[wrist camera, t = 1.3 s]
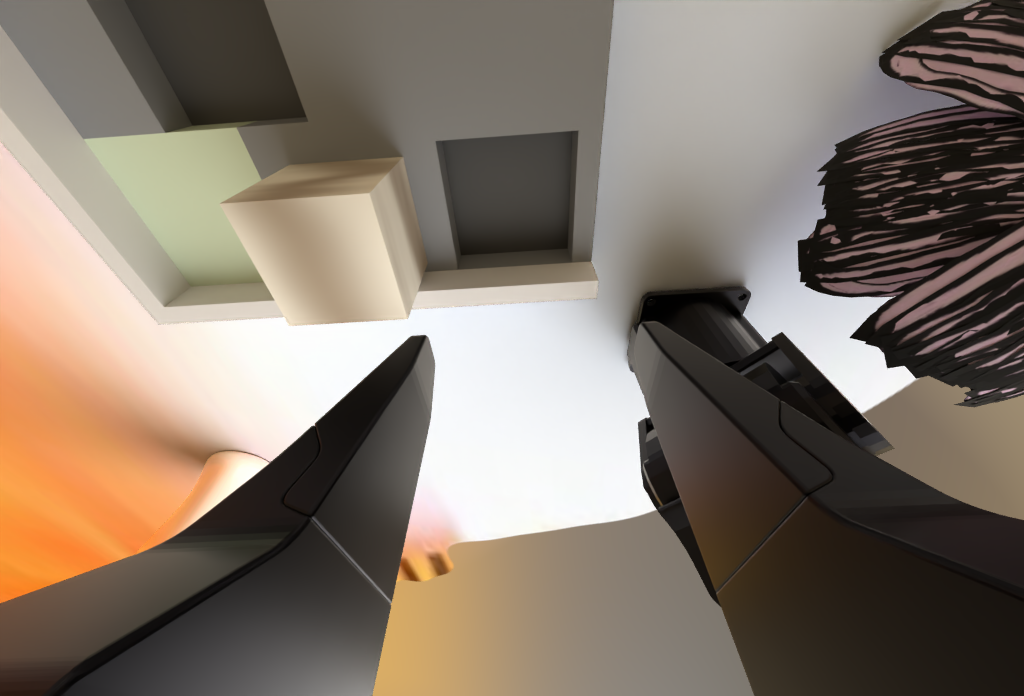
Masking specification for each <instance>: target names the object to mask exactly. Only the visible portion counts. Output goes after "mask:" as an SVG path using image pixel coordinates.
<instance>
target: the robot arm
mask: <svg viewBox="0 0 1024 696" xmlns="http://www.w3.org/2000/svg"><path fill="white" fill-rule="evenodd" d="M741 294H743V295H742V296H740V297H739V295H741ZM750 297H751V292H750V291H749V290H748V289H747V288H745V287H728V288H711V289H695V290H678V291H661V292H649V293H647V294H645V295H644V296H643V297H642V299H641V304H640V309H639V314H638V319H637V323H635V324H634V325H633V326H632V331H631V336H630V341H629V347H628V352H627V355H628V357H629V364H628V365H629V368H630V370H631V372H634V373H635V375H636V378H637V380H638V383H639V385H640V388H641V390H642V393H643V395H644V398H645V402H646V406H647V409H648V412H649V415H650V417H649V418H644V419H643V420H641V421H640V422H638V430H639V444H640V459H641V473H642V479H643V486H644V489H645V490H646V492H647V493H648V495H649V497H650V499H651V501H652V502H653V504H654V506H655V507H656V509H657V510H658V512H659V513H660V515H661V516H662V517H663V518H664V519H665V521H666V522H667V523H668V524H669V526H670V527H671V528H672V529H673V531H674V532H675V533H676V535H677V536H678V538H679V539H680V541H681V543H682V544H683V546H684V547H685V549H686V550H687V552H688V554H689V556H690V558H691V559H692V561H693V563H694V565H695V567H696V569H697V571H698V573H699V575H700V577H701V579H702V580H703V583H704V585H705V587H706V588H707V590H708V592H709V594H710V596H711V597H712V598H713V600H714V601H715V602H716V603H717V604H718V605H719V606H720V607H721V608H722V610H723V613H724V616H725V619H726V621H727V624H728V627H729V629H730V632H731V635H732V637H733V640H734V643H735V645H736V648H737V651H738V653H739V656H740V659H741V661H742V664H743V667H744V669H745V672H746V675H747V677H748V680H749V682H750V685H751V688H752V691H753V693H754V696H1024V520H1020V519H1016V518H1011V517H1007V516H1003V515H999V514H996V513H993V512H989V511H986V510H983V509H980V508H977V507H974V506H971V505H969V504H966V503H963V502H961V501H959V500H957V499H954V498H952V497H950V496H948V495H946V494H944V493H942V492H940V491H938V490H936V489H934V488H932V487H931V486H929V485H927V484H925V483H923V482H921V481H920V480H918V479H916V478H914V477H912V476H911V475H909V474H907V473H905V472H903V471H901V470H900V469H898V468H896V467H894V466H893V465H891V464H889V463H887V462H885V461H883V460H882V459H879V458H878V457H876V456H878V455H880V454H883V453H885V452H887V451H890V450H892V449H894V447H893V446H892V445H891V444H890V443H889V442H888V441H887V440H886V439H885V438H884V437H883V436H882V435H881V434H880V433H879V431H877V429H876V428H875V427H874V426H873V425H872V424H871V423H870V422H869V421H868V420H867V419H866V418H865V417H864V416H863V415H862V414H861V413H860V412H859V410H858V409H857V408H856V407H855V406H854V405H853V404H852V403H851V402H850V401H849V400H848V399H847V398H846V397H845V396H844V395H843V394H842V393H841V392H840V391H839V390H838V389H837V388H836V387H835V386H834V385H833V384H832V383H831V382H830V380H829V379H828V378H827V377H826V376H825V375H824V374H823V373H822V372H821V371H820V370H819V369H818V368H817V367H816V366H815V365H814V364H813V363H812V362H811V361H810V360H809V359H808V358H807V357H806V356H805V355H804V354H803V353H802V352H801V351H800V350H799V349H798V348H797V347H796V346H795V345H794V344H793V343H792V342H791V341H790V340H789V339H788V338H787V337H786V336H785V334H784V333H783V332H781V333H779V334H778V335H776V336H775V337H773V338H771V339H772V341H770V342H769V343H767V342H766V341H765V340H764V339H763V338H762V336H761V335H760V334H759V333H758V332H757V331H756V330H755V328H754V327H753V326H752V325H751V324H750V323H749V322H748V321H747V319H746V318H745V317H744V316H743V313H744V311H745V309H746V306H747V304H748V302H749V299H750ZM650 299H653V301H651V302H649V303H648V301H649V300H650ZM434 374H435V360H434V356H433V352H432V348H431V345H430V341H429V338H428V337H427V336H426V335H419V336H411V337H409V338H408V339H407V340H406V341H405V342H404V343H403V344H402V345H401V346H400V347H398V348H397V349H396V350H395V351H394V352H393V353H392V354H391V355H390V356H389V357H387V358H386V359H385V360H384V361H383V362H382V363H381V364H380V365H379V366H378V367H376V368H375V369H374V370H373V371H372V372H371V373H370V374H369V375H368V376H367V377H365V378H364V379H363V380H362V381H361V382H360V383H359V384H358V385H357V386H356V387H354V388H353V389H352V390H351V391H350V392H349V393H348V394H347V395H346V396H345V397H343V398H342V399H341V400H340V401H339V402H338V403H337V404H336V405H335V406H334V407H332V408H331V409H330V410H329V411H328V412H327V413H326V414H325V415H324V416H323V417H321V418H320V419H319V420H318V421H317V422H316V423H315V426H311V427H310V428H309V429H308V430H307V431H306V432H305V433H304V434H303V435H302V436H300V437H299V438H298V439H297V440H296V441H295V442H294V443H292V444H291V445H290V446H289V447H288V448H287V449H286V450H284V451H283V452H282V453H281V454H280V455H279V456H277V457H276V458H275V459H274V460H273V461H271V462H270V463H269V464H268V465H266V466H265V467H264V468H263V469H261V470H260V471H259V472H258V473H257V474H255V475H254V476H253V477H251V478H250V479H249V480H248V481H246V482H245V483H244V484H243V485H241V486H240V487H239V488H237V489H236V490H235V491H234V492H232V493H231V494H230V495H229V496H227V497H226V498H225V499H223V500H222V501H221V502H220V503H218V504H217V505H216V506H214V507H213V508H212V509H211V510H209V511H208V512H207V513H206V514H204V515H203V516H202V517H200V518H199V519H198V520H197V521H195V522H194V523H193V524H191V525H190V526H189V527H187V528H186V529H184V530H183V531H181V532H180V533H178V534H177V535H175V536H173V537H172V538H170V539H168V540H166V541H164V542H163V543H161V544H159V545H157V546H154V547H152V548H150V549H148V550H146V551H143V552H141V553H138V554H135V555H133V556H130V557H127V558H124V559H122V560H119V561H116V562H113V563H111V564H108V565H105V566H102V567H99V568H97V569H94V570H91V571H88V572H86V573H83V574H80V575H77V576H75V577H72V578H69V579H66V580H64V581H61V582H58V583H55V584H53V585H50V586H47V587H44V588H42V589H39V590H36V591H33V592H30V593H28V594H25V595H22V596H19V597H17V598H14V599H11V600H8V601H6V602H3V603H0V696H372V694H373V689H374V685H375V679H376V675H377V671H378V666H379V661H380V656H381V651H382V647H383V642H384V637H385V633H386V628H387V623H388V618H389V613H390V609H391V603H392V599H393V594H394V589H395V585H396V580H397V575H398V571H399V566H400V561H401V556H402V552H403V547H404V542H405V538H406V533H407V528H408V523H409V519H410V514H411V509H412V505H413V500H414V495H415V490H416V486H417V481H418V476H419V472H420V467H421V462H422V457H423V453H424V448H425V443H426V439H427V434H428V429H429V424H430V419H431V410H432V398H433V386H434Z"/></svg>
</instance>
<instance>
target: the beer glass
mask: <svg viewBox="0 0 1024 696" xmlns="http://www.w3.org/2000/svg"><path fill="white" fill-rule="evenodd" d="M268 464H269V462H268V461H266V460H264V459H262V458H260V457H258V456H255V455H252V454H248V453H244V452H238V451H223V452H218V453H215V454H213V455H212V456H210V457H209V458H208V460H207V462H206V464H205V466H204V468H203V470H202V472H201V475H200V477H199V479H198V481H197V483H196V485H195V486H194V488H193V490H191V493H190V494H189V496H188V497H187V498H186V499H185V501H184V502H183V503H182V504H181V506H180V507H179V508H178V509H177V510H176V511H175V512H174V513H173V514H172V515H171V517H170V518H169V519H168V520H167V521H166V522H165V523H164V524H163V525H162V526H161V527H160V528H159V529H158V530H157V531H156V532H155V533H154V534H153V535H152V536H151V537H150V538H149V540H148V541H147V542H146V543H145V544H144V545H143V546H142V547H141V548H140V549H139V550H138V551H137V552H136V553H135V554H138V553H141V552H143V551H146V550H148V549H150V548H152V547H154V546H157V545H159V544H161V543H163V542H164V541H166V540H168V539H170V538H172V537H173V536H175V535H177V534H178V533H180V532H181V531H183V530H184V529H186V528H187V527H189V526H190V525H191V524H193V523H194V522H195V521H197V520H198V519H199V518H200V517H202V516H203V515H204V514H206V513H207V512H208V511H209V510H211V509H212V508H213V507H214V506H216V505H217V504H218V503H220V502H221V501H222V500H223V499H225V498H226V497H227V496H229V495H230V494H231V493H232V492H234V491H235V490H236V489H237V488H239V487H240V486H241V485H243V484H244V483H245V482H246V481H248V480H249V479H250V478H251V477H253V476H254V475H255V474H257V473H258V472H259V471H260V470H261V469H263V468H264V467H265V466H266V465H268ZM135 554H134V555H135Z"/></svg>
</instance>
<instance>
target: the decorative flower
mask: <svg viewBox="0 0 1024 696" xmlns="http://www.w3.org/2000/svg"><path fill="white" fill-rule="evenodd" d="M898 40H900V41H898V42H897V43H895V44H894V45H892V46H891V47H889V48H888V49H886V50H885V51H883V52H882V53H885V54H883V55H881V56H880V57H879V66H880V68H881V69H882V71H883V72H884V73H885V74H887V75H888V76H890V77H892V78H895V79H899V80H902V81H904V82H905V83H906V84H908V85H910V86H912V87H914V88H916V89H921V90H927V91H933V92H937V93H940V94H943V95H946V96H949V97H952V98H955V99H957V100H959V101H961V102H963V103H965V104H966V105H960V106H954V107H948V108H942V109H937V110H932V111H928V112H924V113H920V114H917V115H914V116H910V117H907V118H904V119H900V120H897V121H893V122H890V123H887V124H884V125H881V126H877V127H875V128H872V129H869V130H866V131H863V132H861V133H859V134H857V135H855V136H853V137H850V138H848V139H846V140H844V141H842V142H840V143H837V144H835V146H836V147H837V148H836V149H835V151H836V152H837V154H836V155H835V156H834V157H833V158H832V159H831V160H830V161H829V162H827V163H826V164H825V165H824V166H823V167H822V168H820V169H819V170H818V171H817V172H819V171H827V172H826V174H825V175H824V177H823V178H822V180H821V181H820V183H819V184H818V186H821V185H825V190H824V196H823V201H822V205H823V204H826V205H825V207H824V209H826V217H825V218H824V219H819V220H817V224H816V228H815V231H814V232H813V233H812V234H811V235H810V236H809V237H808V238H807V239H805V240H799V241H798V266H799V272H801V278H800V282H806V284H805V286H806V287H808V288H811V289H813V290H815V291H817V292H820V293H824V294H828V295H832V296H842V297H867V296H868V297H894V296H896V297H894V298H892V299H890V300H888V301H887V302H886V303H885V304H883V305H882V306H881V307H880V308H878V310H877V311H876V312H874V313H873V314H872V315H870V316H869V317H868V318H867V320H866V321H865V322H864V323H863V324H862V325H861V326H860V327H859V328H858V329H857V330H856V331H855V332H854V333H853V335H852V336H851V337H850V338H853V339H857V340H861V341H865V342H866V343H865V344H868V345H872V346H876V347H879V349H880V350H881V351H882V352H883V353H884V355H885V360H886V365H887V368H893V367H899V366H905V367H906V368H907V369H908V370H909V371H910V372H911V373H912V374H913V375H914V377H915V378H920V377H924V376H931V377H933V378H935V379H937V380H940V381H942V382H944V383H946V384H948V385H951V386H955V385H958V386H959V387H961V388H962V387H969V388H970V389H971V391H969V392H966V393H965V394H966V395H968V396H967V397H966V398H965V399H964V402H963V403H958V404H955V405H960V406H968V407H977V406H981V405H985V404H989V403H993V402H1000V401H1004V400H1007V399H1011V398H1015V397H1018V396H1021V395H1024V0H981V1H979V2H977V3H975V4H972V5H970V6H968V7H966V8H963V9H959V10H952V11H944V12H941V13H939V14H938V15H936V16H935V17H933V18H932V19H930V20H928V21H927V22H925V23H924V24H922V25H920V26H919V27H917V28H916V29H914V30H913V31H911V32H909V33H908V34H906V35H905V36H903V37H901V38H900V39H898Z"/></svg>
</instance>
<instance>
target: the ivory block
mask: <svg viewBox="0 0 1024 696" xmlns="http://www.w3.org/2000/svg"><path fill="white" fill-rule="evenodd" d="M220 206H221V208H222V209H223V211H224V213H225V215H226V216H227V218H228V220H229V222H230V223H231V225H232V227H233V229H234V230H235V232H236V234H237V236H238V237H239V239H240V241H241V243H242V244H243V246H244V248H245V250H246V251H247V253H248V255H249V257H250V258H251V260H252V262H253V263H254V265H255V267H256V269H257V270H258V272H259V274H260V276H261V277H262V279H263V281H264V283H265V284H266V286H267V288H268V290H269V291H270V293H271V295H272V297H273V298H274V300H275V302H276V304H277V305H278V307H279V309H280V311H281V312H282V314H283V316H284V317H285V319H286V321H287V323H288V324H289V326H297V325H314V324H331V323H348V322H365V321H382V320H399V319H408V317H409V314H410V311H411V309H412V306H413V303H414V300H415V297H416V295H417V292H418V289H419V286H420V283H421V281H422V278H423V275H424V272H425V269H426V266H427V264H428V262H427V258H426V253H425V249H424V245H423V240H422V236H421V232H420V227H419V223H418V219H417V214H416V210H415V206H414V202H413V197H412V193H411V189H410V184H409V180H408V176H407V171H406V167H405V163H404V159H403V157H392V158H378V159H364V160H351V161H337V162H323V163H309V164H295V165H288V166H286V167H285V168H283V169H281V170H279V171H277V172H276V173H274V174H272V175H270V176H268V177H267V178H265V179H263V180H261V181H259V182H258V183H256V184H254V185H252V186H250V187H249V188H247V189H245V190H243V191H241V192H240V193H238V194H236V195H234V196H232V197H231V198H229V199H227V200H225V201H223V202H221V203H220Z"/></svg>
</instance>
